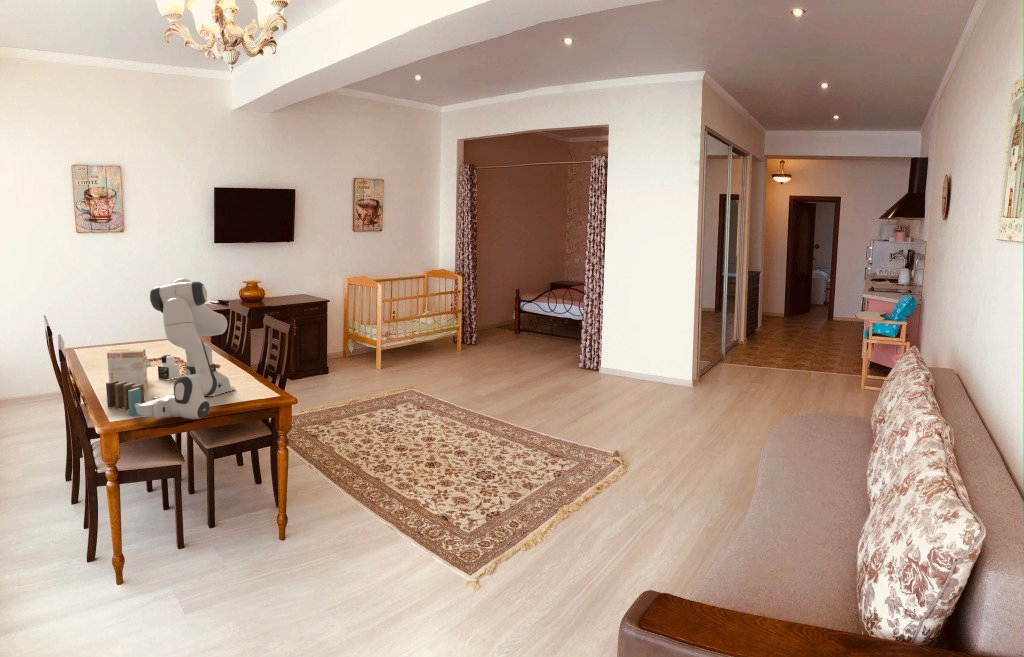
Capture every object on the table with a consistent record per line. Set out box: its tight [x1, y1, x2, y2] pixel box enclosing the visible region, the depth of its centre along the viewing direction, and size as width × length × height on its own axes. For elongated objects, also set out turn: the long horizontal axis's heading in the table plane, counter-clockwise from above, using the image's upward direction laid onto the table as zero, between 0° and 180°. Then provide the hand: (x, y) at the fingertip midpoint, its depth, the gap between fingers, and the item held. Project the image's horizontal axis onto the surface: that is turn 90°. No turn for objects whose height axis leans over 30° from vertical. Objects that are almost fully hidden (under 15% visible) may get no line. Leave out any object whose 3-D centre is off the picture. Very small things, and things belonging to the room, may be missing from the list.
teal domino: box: [128, 388, 142, 417], centre depth 283 cm, size 2×5×11 cm, turn 164°
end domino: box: [105, 381, 119, 408], centre depth 294 cm, size 2×5×11 cm, turn 164°
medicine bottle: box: [157, 354, 181, 380], centre depth 344 cm, size 7×7×12 cm
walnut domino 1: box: [114, 382, 127, 409], centre depth 292 cm, size 2×5×11 cm, turn 164°
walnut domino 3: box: [131, 383, 146, 403], centre depth 290 cm, size 2×5×11 cm, turn 164°
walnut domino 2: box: [123, 382, 135, 411], centre depth 291 cm, size 2×5×11 cm, turn 164°
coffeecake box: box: [106, 348, 149, 392], centre depth 319 cm, size 15×7×20 cm, turn 108°
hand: (145, 402), depth 282 cm, fingers open, 8 cm apart
